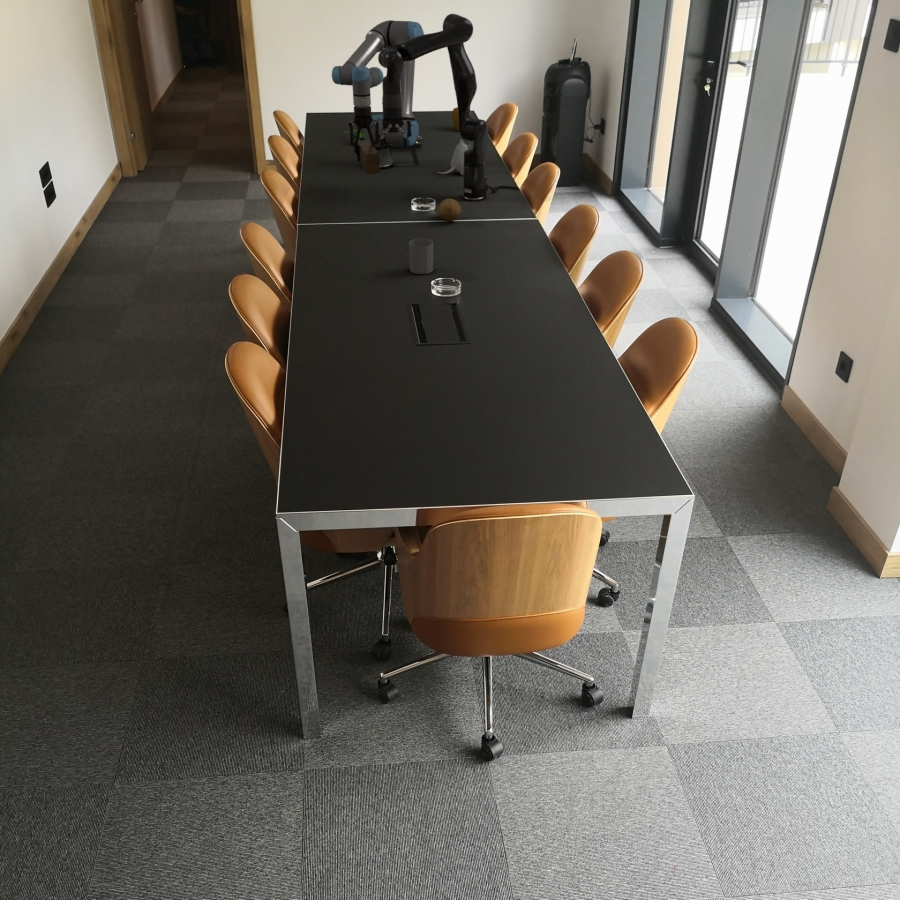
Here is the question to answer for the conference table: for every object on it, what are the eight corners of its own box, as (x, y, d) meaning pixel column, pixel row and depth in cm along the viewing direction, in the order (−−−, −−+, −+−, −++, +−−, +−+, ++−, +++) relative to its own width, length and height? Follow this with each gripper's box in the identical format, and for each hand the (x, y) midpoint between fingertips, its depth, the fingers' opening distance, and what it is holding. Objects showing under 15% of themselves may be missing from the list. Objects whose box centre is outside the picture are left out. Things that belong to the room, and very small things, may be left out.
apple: (471, 132, 486) (471, 108, 479) (451, 132, 486) (451, 108, 479) (470, 128, 495) (471, 104, 488) (452, 128, 495) (452, 104, 488)
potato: (459, 214, 362) (459, 195, 357) (462, 225, 350) (462, 205, 346) (436, 214, 361) (436, 195, 357) (438, 225, 349) (438, 205, 345)
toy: (478, 172, 417) (478, 139, 409) (444, 182, 402) (444, 148, 394) (464, 168, 422) (464, 136, 414) (430, 178, 407) (430, 145, 399)
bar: (358, 160, 390) (356, 140, 386) (369, 159, 391) (368, 140, 387) (367, 174, 371) (366, 154, 367) (379, 173, 372) (378, 153, 368)
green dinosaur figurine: (399, 126, 467) (343, 124, 465) (399, 141, 460) (342, 139, 458) (399, 136, 472) (343, 133, 470) (399, 151, 465) (342, 149, 463)
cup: (409, 265, 311) (408, 238, 306) (432, 265, 312) (431, 238, 307) (410, 274, 304) (409, 246, 299) (433, 273, 305) (433, 246, 299)
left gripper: (342, 108, 370) (346, 164, 383) (384, 106, 374) (387, 161, 387) (339, 105, 376) (343, 159, 389) (381, 102, 380) (383, 157, 393)
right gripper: (375, 107, 331) (376, 151, 340) (411, 106, 333) (412, 149, 342) (372, 103, 337) (374, 146, 346) (409, 102, 340) (410, 145, 348)
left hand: (365, 160), depth 388 cm, fingers closed on bar, 5 cm apart
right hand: (393, 148), depth 344 cm, fingers open, 8 cm apart
